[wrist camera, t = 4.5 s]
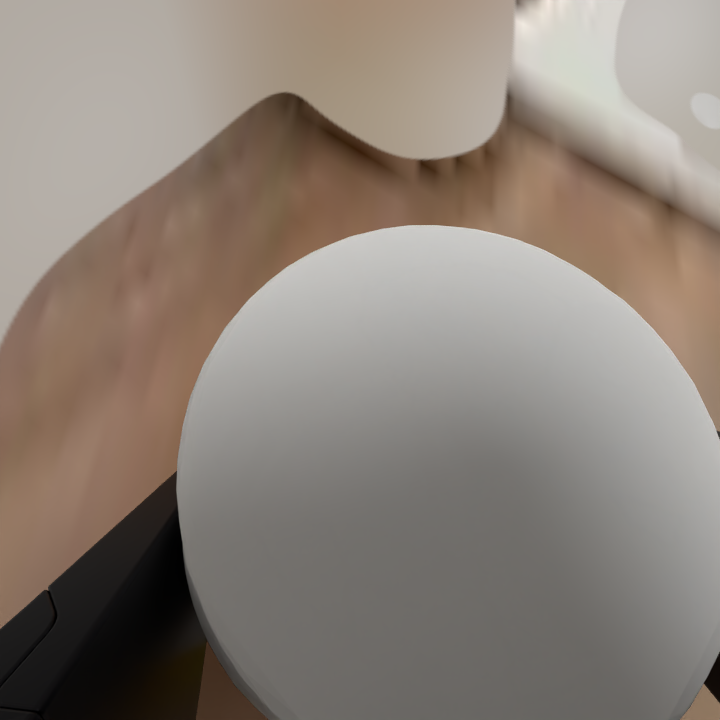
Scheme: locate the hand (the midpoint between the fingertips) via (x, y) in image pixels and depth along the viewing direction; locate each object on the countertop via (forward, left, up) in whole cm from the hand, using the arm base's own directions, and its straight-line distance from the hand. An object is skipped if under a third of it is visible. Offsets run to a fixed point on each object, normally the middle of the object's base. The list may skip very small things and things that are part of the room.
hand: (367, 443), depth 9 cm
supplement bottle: (-1, +1, -7) cm, 7 cm away
